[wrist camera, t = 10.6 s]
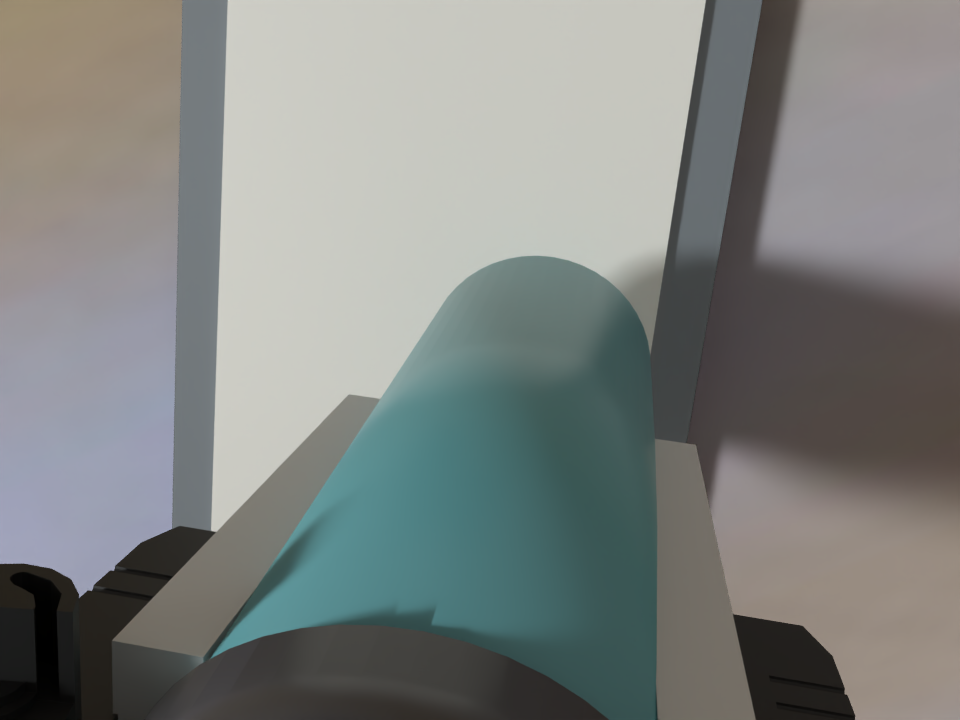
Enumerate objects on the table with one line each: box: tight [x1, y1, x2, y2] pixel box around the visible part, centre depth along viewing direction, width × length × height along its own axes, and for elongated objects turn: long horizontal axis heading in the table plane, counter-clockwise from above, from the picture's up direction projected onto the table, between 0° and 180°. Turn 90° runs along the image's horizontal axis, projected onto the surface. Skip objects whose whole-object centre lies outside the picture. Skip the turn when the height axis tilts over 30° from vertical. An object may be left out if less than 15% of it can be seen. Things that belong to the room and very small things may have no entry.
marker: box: [144, 256, 657, 720], centre depth 11 cm, size 4×4×12 cm
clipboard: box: [172, 0, 762, 532], centre depth 19 cm, size 18×11×2 cm, turn 175°
